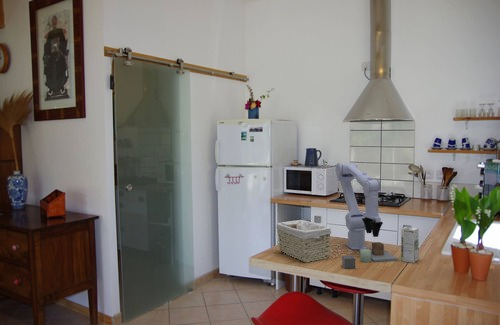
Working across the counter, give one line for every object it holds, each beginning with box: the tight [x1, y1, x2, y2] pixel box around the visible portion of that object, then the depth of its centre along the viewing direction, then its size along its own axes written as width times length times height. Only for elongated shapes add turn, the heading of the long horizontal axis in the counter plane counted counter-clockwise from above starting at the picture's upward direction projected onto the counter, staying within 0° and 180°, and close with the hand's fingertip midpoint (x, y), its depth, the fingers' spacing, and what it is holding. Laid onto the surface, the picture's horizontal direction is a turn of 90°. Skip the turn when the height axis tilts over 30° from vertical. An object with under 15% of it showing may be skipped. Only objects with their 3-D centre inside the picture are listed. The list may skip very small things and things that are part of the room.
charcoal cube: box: [341, 255, 356, 270], centre depth 167 cm, size 4×4×4 cm
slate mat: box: [358, 248, 399, 263], centre depth 182 cm, size 18×11×1 cm, turn 6°
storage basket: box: [276, 219, 332, 263], centre depth 187 cm, size 24×16×15 cm
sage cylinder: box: [359, 248, 372, 264], centre depth 174 cm, size 4×4×5 cm
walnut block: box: [371, 241, 385, 256], centre depth 181 cm, size 4×4×5 cm
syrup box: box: [400, 226, 420, 264], centre depth 173 cm, size 6×6×14 cm
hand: (372, 234), depth 184 cm, fingers open, 7 cm apart
